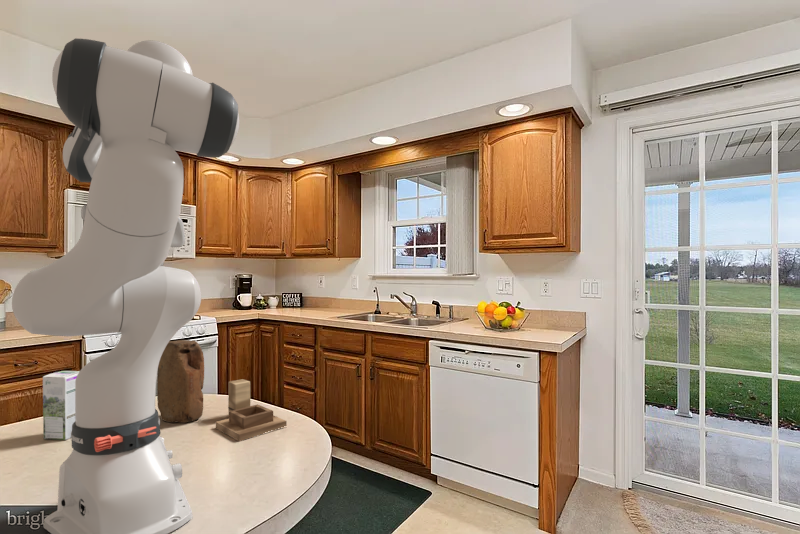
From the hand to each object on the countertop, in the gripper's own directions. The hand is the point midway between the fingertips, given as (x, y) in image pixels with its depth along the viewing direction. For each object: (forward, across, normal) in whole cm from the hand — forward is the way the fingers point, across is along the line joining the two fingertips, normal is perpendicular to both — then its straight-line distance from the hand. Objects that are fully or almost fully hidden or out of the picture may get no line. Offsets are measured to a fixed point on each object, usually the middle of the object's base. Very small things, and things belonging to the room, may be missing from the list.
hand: (136, 266), depth 100 cm
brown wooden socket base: (+39, +21, -14) cm, 46 cm away
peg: (+39, +23, -4) cm, 45 cm away
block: (+39, +12, +5) cm, 41 cm away
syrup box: (+39, -11, +14) cm, 43 cm away
